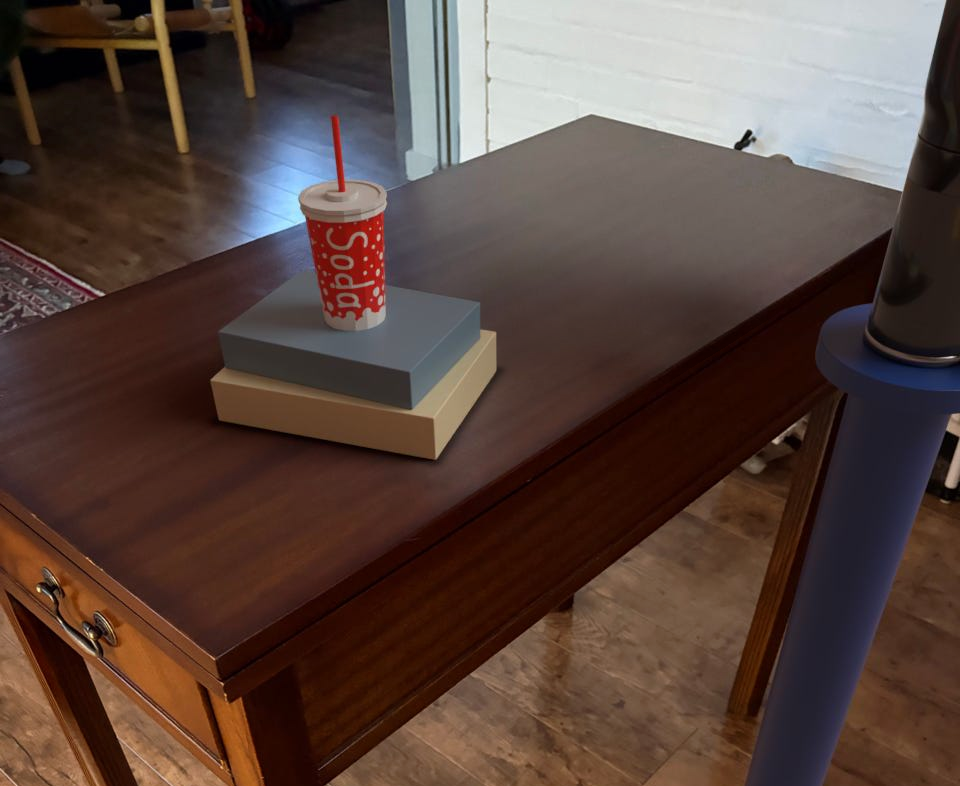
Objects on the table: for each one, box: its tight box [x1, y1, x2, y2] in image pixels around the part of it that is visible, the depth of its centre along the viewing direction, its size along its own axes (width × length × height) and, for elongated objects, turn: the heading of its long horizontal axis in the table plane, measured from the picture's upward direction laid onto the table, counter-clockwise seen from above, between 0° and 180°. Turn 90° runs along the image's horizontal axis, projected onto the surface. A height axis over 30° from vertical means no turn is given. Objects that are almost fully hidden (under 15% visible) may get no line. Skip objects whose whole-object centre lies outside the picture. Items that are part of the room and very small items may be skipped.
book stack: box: [209, 269, 497, 461], centre depth 78 cm, size 18×14×6 cm
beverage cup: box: [297, 114, 388, 331], centre depth 71 cm, size 6×6×14 cm
